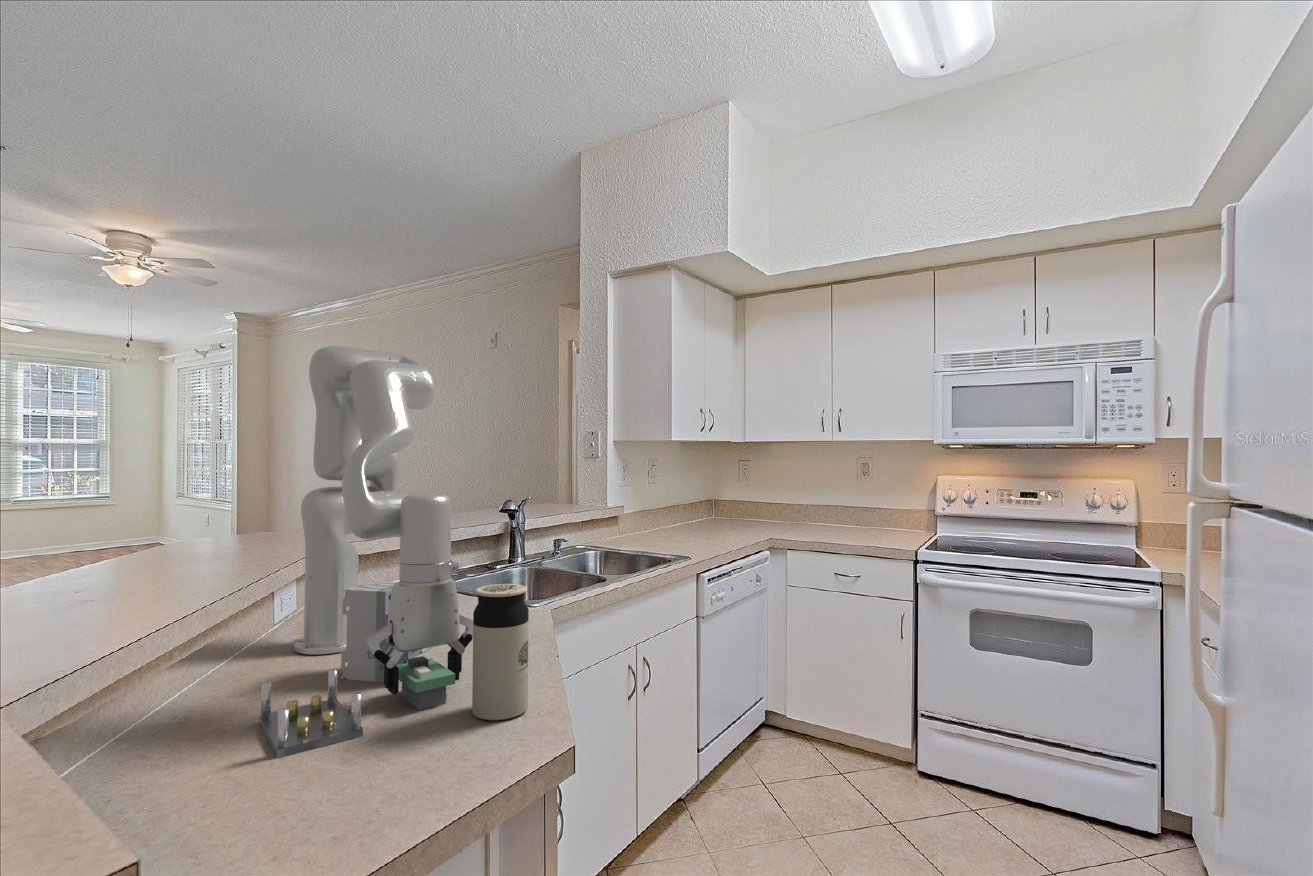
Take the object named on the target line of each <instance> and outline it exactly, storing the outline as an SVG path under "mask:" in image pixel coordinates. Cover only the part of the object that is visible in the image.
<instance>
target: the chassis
mask: <svg viewBox="0 0 1313 876" xmlns="http://www.w3.org/2000/svg"><path fill="white" fill-rule="evenodd" d="M327 674H328V675H327V677H328V678H327V679H328V682H327V700H323V701H322V695H320V694H317V695H312V696H311V697H310V703H309V704H304V705H300V706H299V700H296V699H294V700H288V701H287V702H286V707H284V708H280V709H278V710H277V711H272V712H271V707H272V681H264V682H262V683H261V685H260V689H261V690H260V691H261V692H260V714H259V715H258V724H259V725H260V728H261V730H262V731H263V733H264V735H265V738H266V739H267V740H268V741H267V742H268V743H269V745H270V747H271V749H272V751H273V752H274V754H275V757H276V759H279V758H283V757H287V756H290V755H294V754H298V753H301V752H302V753H303V752H306V751H310V750H313V749H317V748H321V747H324V746H328V745H332V744H337V743H340V742H345V741H348V740H352V739H356V738H360V737H363V736H364V728H363V726H362V692H361V691H360V692H358V691H357V692H354V693H352V694H351V706H350V707H351V711H350V712H351V713H350V712H349V710H347V709H346V707H345V706H344V705H343V704H342V702H340V701H339V699H338V669H337V668H333V669H329V670H328V673H327Z"/></svg>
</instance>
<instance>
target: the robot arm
mask: <svg viewBox="0 0 1313 876" xmlns="http://www.w3.org/2000/svg"><path fill="white" fill-rule="evenodd" d="M308 370H309V371H308V374H309V375H308V376H309V384H310V388H311V392H312V396H313V400H314V405H315V414H316V416H315V425H314V443H313V470H314V472H315V474H316V475H317V477H318V478H320V479H323V480H326V481H342V482H341V486H327V487H325V486H324V487H320V488H316V489H313V490H311V491H309V492H307V494H306V495H305V496H304V497H303V499H302V501H301V505H300V513H301V514H300V516H301V522H302V527H303V528H302V529H303V534H304V535H303V537H304V547H305V548H304V550H305V551H304V552H305V554H304V555H305V556H304V557H305V560H304V563H305V564H304V565H305V566H304V570H305V571H304V607H303V608H304V609H303V611H304V612H303V615H304V616H303V638H301V639H299V640H297V641H296V642H295V643H294V651H295V652H296V653H298V654H302V655H311V656H312V655H313V656H314V655H317V656H318V655H329V654H335V653H336V654H337V653H341V651H344V650H346V638H347V615H342V602H343V599H344V598H345V592H344V590H345V589H348V588H352V587H355V586H359V561H360V560H359V553H358V552H357V550H356V547H354V545H353V544H352V543H351V542H350V541H349V539H348V538H347V536H346V535H350V534H354V536H355V537H356V538H358V539H363V540H377V539H378V540H379V539H380V540H381V539H387V538H388V539H390V538H399V581H398V582H393V583H394V585H393V589H392V593H391V598H390V605H389V612H388V622H387V625H386V626H385V627H383V628H382V629H380V630H379V631H377V632H376V633H374V634H373V635H372V636H370V637H369V638H367V639H366V640H365V644H366V645H367V647H368V649H369V650H370V652H371V653H372V655H373V656H374V657H375V658H376V659H378V660H379V661H380V662H381V663H383V664H384V682H383V685H384V688H385V689H386V690H387V691H388V692H389V693H390V694H392V695H393V696H394V695H398V693H399V690H400V689H399V688H400V687H399V681H400V680H399V668H398V667H397V666H396V663H397V661H398V660H399V659H400V657H401V656H402V654H403V653H404V652H408V651H414V650H419V649H425V648H430V647H440V646H445V645H447V646H448V647H449V648H450V650H448V652H447V667H446V668H447V669H449V670H450V671H452V672H453V673H455V682H456V681H459V680H460V673H462V671H463V669H462V667H463V666H462V665H463V664H462V663H463V662H462V661H463V660H462V659H463V657H462V656H463V654H464V653H465V651H466V648H467V647H468V645H469V644H470V643H471V642H473V619H470V618H469V617H466V616H464V615H462V614H460V608H459V598H458V593H457V586H456V582H455V579H454V578H452V575H453V573H454V572H455V571H458V570H460V564H459V562H455V561H453V559H452V502H451V499H450V497H449V496H448V495H447V494H443V493H432V492H430V491H427V490H398V488H399V475H400V453H399V452H400V451H402V450H404V449H405V448H407V447H408V446H410V444H411V443H412V442H413V440H414V438H415V437H414V436H415V432H414V427H413V424H412V420H411V415H410V411H409V410H411V409H412V410H425V409H427V408H428V407H430V405H431V404H432V403H433V401H434V400H435V399H434V398H435V395H436V385H435V381H434V377H433V375H432V373H431V371H430V370H429V369H428V368H427V367H426V366H425V365H423V364H422V363H420V362H419V361H416V360H415V359H412V358H411V357H408V356H406V355H404V354H400V353H396V352H388V351H381V350H375V349H374V350H373V349H368V348H367V349H365V348H360V347H359V348H358V347H351V346H350V347H349V346H342V345H339V346H335V345H333V346H324V347H320V348H318V349H317V350H315V352H314V353H313V354H312V356H311V358H310V362H309V369H308ZM367 481H369V486H368V482H367ZM348 610H349V607H348V606H346V611H348ZM461 625H462V626H465V629H464V632H463V633H462V634H461V635H460V629H461V628H460V627H461ZM385 638H387V643H388V645H390V648H389V649H388V650H387V652H386V653H384V652H383V651H382V650H381V649H380V647H379V643H380V642H381V641H382V640H384V639H385Z"/></svg>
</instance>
